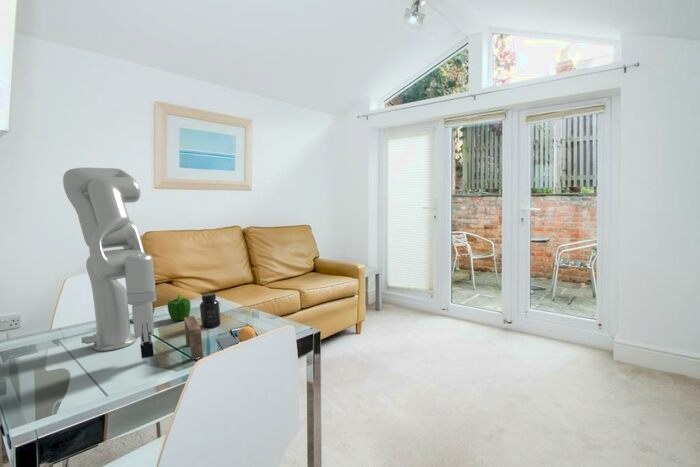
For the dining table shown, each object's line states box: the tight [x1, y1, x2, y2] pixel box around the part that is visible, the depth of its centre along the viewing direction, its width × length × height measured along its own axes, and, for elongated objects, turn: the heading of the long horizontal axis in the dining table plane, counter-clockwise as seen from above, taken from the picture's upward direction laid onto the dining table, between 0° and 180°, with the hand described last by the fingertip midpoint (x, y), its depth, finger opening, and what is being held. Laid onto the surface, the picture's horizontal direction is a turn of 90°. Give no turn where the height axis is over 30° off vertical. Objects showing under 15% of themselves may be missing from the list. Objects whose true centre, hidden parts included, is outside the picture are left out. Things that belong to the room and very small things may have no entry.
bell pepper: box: [167, 293, 191, 322], centre depth 154 cm, size 8×8×10 cm
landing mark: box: [216, 335, 240, 350], centre depth 130 cm, size 12×12×1 cm
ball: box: [237, 325, 256, 342], centre depth 127 cm, size 6×6×6 cm
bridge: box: [183, 315, 204, 361], centre depth 122 cm, size 3×14×9 cm, turn 29°
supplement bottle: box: [199, 292, 221, 329], centre depth 146 cm, size 7×7×12 cm
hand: (147, 356), depth 116 cm, fingers closed
